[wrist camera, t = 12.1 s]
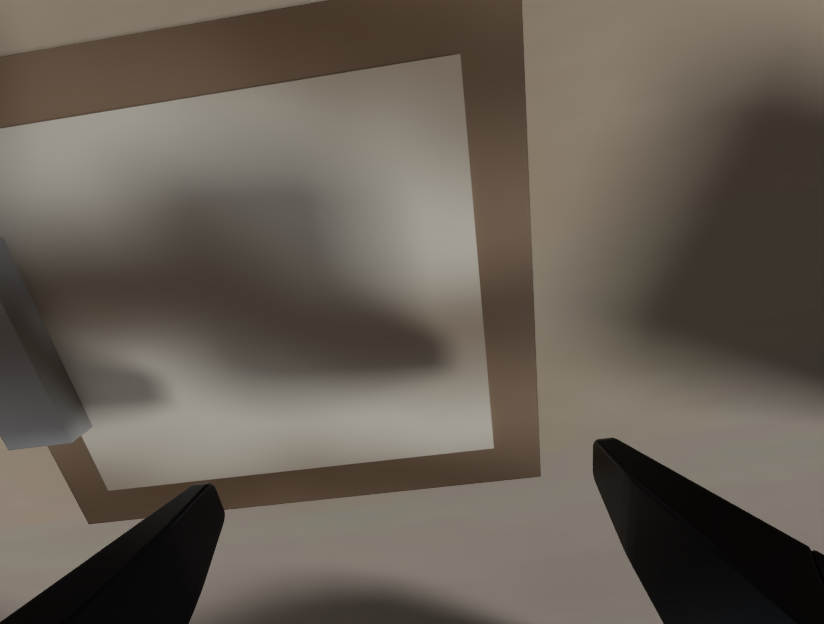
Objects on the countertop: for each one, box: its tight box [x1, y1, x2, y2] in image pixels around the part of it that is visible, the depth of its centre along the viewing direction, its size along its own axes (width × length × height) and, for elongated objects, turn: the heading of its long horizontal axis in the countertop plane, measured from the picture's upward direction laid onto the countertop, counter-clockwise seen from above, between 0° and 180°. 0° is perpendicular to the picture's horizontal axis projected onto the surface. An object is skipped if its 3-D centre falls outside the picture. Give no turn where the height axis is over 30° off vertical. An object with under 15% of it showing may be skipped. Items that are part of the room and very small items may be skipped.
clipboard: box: [0, 0, 541, 524], centre depth 11 cm, size 14×16×2 cm
